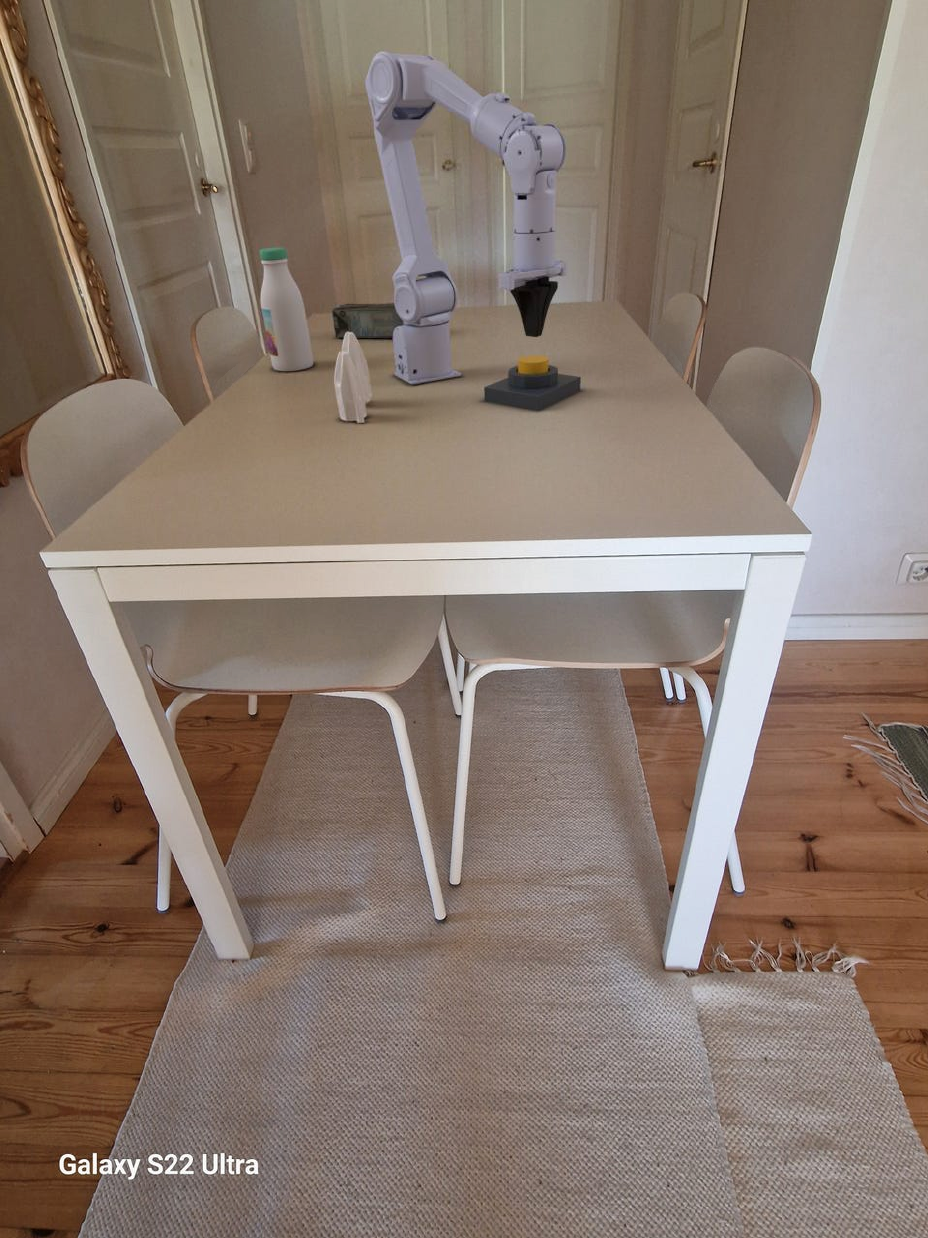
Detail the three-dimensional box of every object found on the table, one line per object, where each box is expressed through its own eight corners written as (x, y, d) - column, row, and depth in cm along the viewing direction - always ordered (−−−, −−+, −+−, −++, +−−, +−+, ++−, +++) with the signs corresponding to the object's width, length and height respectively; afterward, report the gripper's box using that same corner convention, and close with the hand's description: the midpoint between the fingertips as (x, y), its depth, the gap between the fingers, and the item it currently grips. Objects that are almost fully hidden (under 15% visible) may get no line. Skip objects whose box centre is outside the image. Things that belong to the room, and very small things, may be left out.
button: (537, 378, 103) (537, 363, 102) (512, 374, 105) (512, 360, 104) (553, 371, 106) (554, 357, 105) (529, 367, 108) (529, 353, 107)
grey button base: (538, 411, 101) (538, 383, 99) (484, 401, 106) (483, 374, 104) (580, 390, 109) (581, 364, 106) (527, 382, 114) (528, 357, 112)
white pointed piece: (349, 400, 110) (339, 326, 104) (375, 399, 110) (366, 325, 104) (336, 424, 100) (324, 344, 94) (365, 423, 100) (354, 343, 94)
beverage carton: (349, 330, 156) (345, 299, 153) (428, 332, 152) (426, 299, 148) (334, 338, 150) (329, 306, 146) (416, 340, 145) (414, 306, 142)
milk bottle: (318, 361, 133) (300, 245, 122) (307, 371, 127) (286, 249, 116) (280, 362, 134) (258, 246, 123) (267, 372, 128) (243, 251, 117)
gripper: (529, 237, 88) (528, 348, 96) (586, 226, 97) (581, 328, 105) (485, 236, 92) (488, 343, 99) (544, 226, 101) (542, 324, 109)
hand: (533, 335), depth 102 cm, fingers closed
